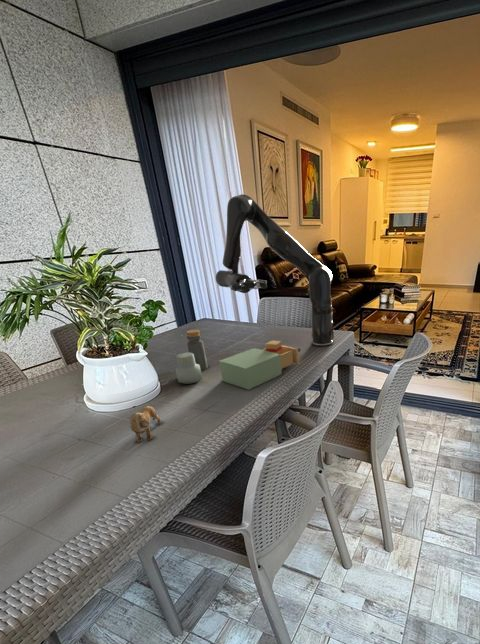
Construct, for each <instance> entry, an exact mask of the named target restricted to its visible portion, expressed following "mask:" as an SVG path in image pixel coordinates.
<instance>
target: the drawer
mask: <svg viewBox="0 0 480 644" xmlns="http://www.w3.org/2000/svg"><path fill="white" fill-rule="evenodd" d="M281 346H282V354H281V355H280V358H281V370H283V369H284V368H287V367H289V366H291V365H293V364H296V365H298V364H299V363H300V359H299V358H300V357H299V353H300V352H301V348H299V347H295V346H291V345H283V344H281ZM262 350H264V351H266V348H263V349H262Z"/></svg>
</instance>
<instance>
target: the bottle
mask: <svg viewBox="0 0 480 644" xmlns="http://www.w3.org/2000/svg"><path fill="white" fill-rule="evenodd" d="M185 333H186V339H187V340H188V341H187V348H188V352H189V353H193V354H194V358H195V363H196V364H198V365H200V369H201V371H204V370H207V369H208V365H209V364H208V361H207V355H206V350H205V345H204V341H203V340H201V338H202V335H201V334H200V330H199V329H190V330H189V329H188V330H187V331H186V332H185Z"/></svg>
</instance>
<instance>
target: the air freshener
mask: <svg viewBox="0 0 480 644" xmlns="http://www.w3.org/2000/svg"><path fill="white" fill-rule="evenodd" d="M175 357H176V362H177V367H175V374H176V379H177V382H178V383H180V384H184V385H190V384H194V383H197V382H199V381H200V380H202V379H203V374H202V370H201V369H200V365H198V364H196V363H195V358H194V354H193V353H189V351H188V352H181V353H178V354H177V355H176V356H175Z"/></svg>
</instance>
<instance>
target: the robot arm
mask: <svg viewBox="0 0 480 644" xmlns="http://www.w3.org/2000/svg"><path fill="white" fill-rule="evenodd" d="M246 221H247V222H248V223H250V224H251V226H253V227H254V228H256V230H258V231H259V232H260V234H261V235H262V237H263V239H264V241H265V242H266V244H267V246H268V247H269V248H270V249H271V250H272V252H274V253H275V254H276V255H278V256H279V258H281V259H282V260H283V261H285V262H287V263H289V264H291V265H292V266H294V267H296V268H298V269H299V270H300V271H302V272H303V273H304V275H306V276H307V277H308V290H309V300H310V310H311V311H310V313H311V338H312V339H311V340H312V342H311V343H312V345H314V346H317V347H327V346H330V345H333V343H334V339H335V336H334V335H335V333H334V322H333V299H332V294H331V293H332V291H331V287H332V286H331V284H332V281H333V274H332V271H331V269H329V268H328V267H327V266H326V265H324V264H322V263H321V262H320V261H319V260H317V259H316V258H314V257H313V256H312V255H311V254H310V253H308V251H307V250H306V249H305V248H304V247H303V246H302V245H301V244H300V243H299V242H298V241H297V240H296V239H295V238H294V236H292V235H291V234H290V233H288V232H287V231H286V230H285V229H284V228H282V227H281V226H280V225H279V224H278V223H277V222H276V221H275V220H273V219H272V217H270V216H269V215H268V214H267V213H266V212H265V211H264V210H263V208H261V206H259V204H258V203H257V202H256V201H255V200H254V199H253V198H252V197H251V196H249V195H247V194H245V193H243V194H238V195H235V196H232V197H231V198H230V199H229V200H228V202H227V205H226V234H225V235H226V237H225V245H224V252H223V255H222V256H223V257H222V265H223V266H224V267H225V268H226V269H228V270H224V269H223V270H222V269H221V270H220V269H219V270H218V271H216V273H215V282H216V284H217V286H219V287H222V288H230V290H231V291H234V292H238V293H242V294H249V292H251V290H258V289H264V290H266V289H267V288H268V284H267V283H268V281H267V280H264V279H252V278H251V277H250V275H248V274H245V273H240V272H239V265H240V259H241V255H242V243H241V234H242V230H243V226H244V224H245V222H246Z"/></svg>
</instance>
